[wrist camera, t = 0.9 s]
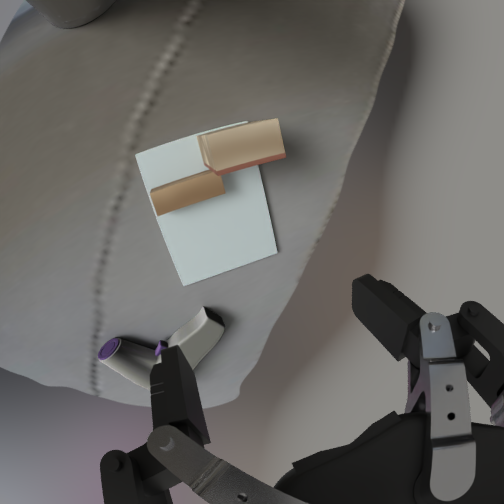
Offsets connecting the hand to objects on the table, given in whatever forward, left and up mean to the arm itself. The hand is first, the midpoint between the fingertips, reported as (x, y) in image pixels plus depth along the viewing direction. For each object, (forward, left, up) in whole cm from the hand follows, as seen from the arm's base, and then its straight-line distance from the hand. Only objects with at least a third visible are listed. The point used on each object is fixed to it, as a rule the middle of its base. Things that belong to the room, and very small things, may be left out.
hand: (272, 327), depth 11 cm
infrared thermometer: (+15, -11, -21) cm, 28 cm away
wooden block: (-6, +4, -20) cm, 21 cm away
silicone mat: (0, +1, -21) cm, 21 cm away
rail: (-3, -1, -21) cm, 21 cm away
